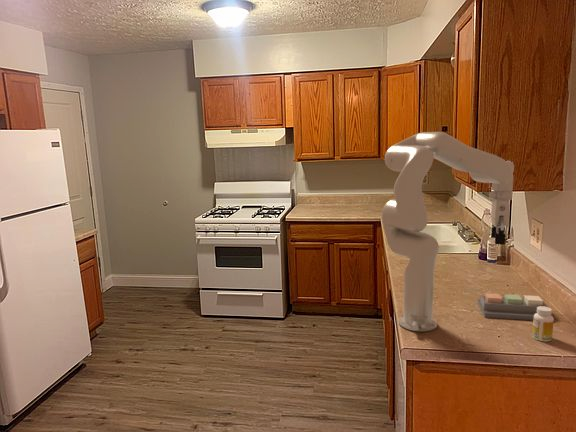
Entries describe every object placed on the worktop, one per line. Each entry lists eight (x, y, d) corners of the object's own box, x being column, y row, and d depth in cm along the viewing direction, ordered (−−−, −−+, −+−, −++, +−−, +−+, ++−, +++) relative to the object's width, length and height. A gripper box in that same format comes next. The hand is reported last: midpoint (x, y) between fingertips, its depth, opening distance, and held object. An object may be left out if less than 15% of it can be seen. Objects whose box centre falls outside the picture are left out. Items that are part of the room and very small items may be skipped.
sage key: (521, 308, 153) (522, 299, 153) (507, 307, 154) (508, 298, 154) (518, 303, 158) (518, 294, 157) (504, 302, 159) (504, 294, 158)
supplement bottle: (553, 337, 137) (556, 308, 135) (549, 343, 133) (552, 313, 131) (534, 332, 140) (536, 303, 139) (529, 338, 137) (532, 309, 135)
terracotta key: (501, 307, 155) (502, 298, 154) (487, 306, 156) (488, 297, 155) (498, 302, 159) (499, 293, 159) (484, 301, 160) (485, 293, 160)
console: (551, 321, 148) (552, 310, 147) (484, 317, 153) (485, 306, 152) (538, 306, 161) (539, 296, 160) (477, 303, 165) (477, 293, 164)
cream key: (542, 309, 152) (543, 300, 151) (527, 308, 153) (528, 300, 152) (537, 304, 156) (538, 296, 156) (523, 303, 157) (524, 295, 157)
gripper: (516, 198, 150) (513, 247, 153) (507, 191, 166) (505, 235, 169) (492, 198, 152) (489, 246, 155) (486, 191, 168) (483, 235, 171)
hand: (497, 240), depth 162 cm, fingers open, 9 cm apart
